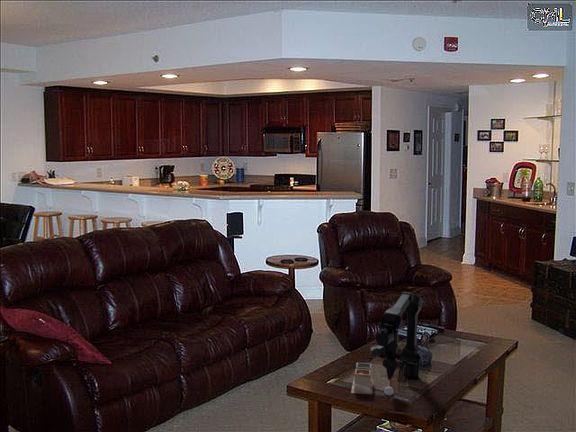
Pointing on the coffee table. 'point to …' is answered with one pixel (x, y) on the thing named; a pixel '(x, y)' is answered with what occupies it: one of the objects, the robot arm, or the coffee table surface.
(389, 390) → the grey ball
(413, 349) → the robot arm
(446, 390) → the coffee table surface
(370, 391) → the box
